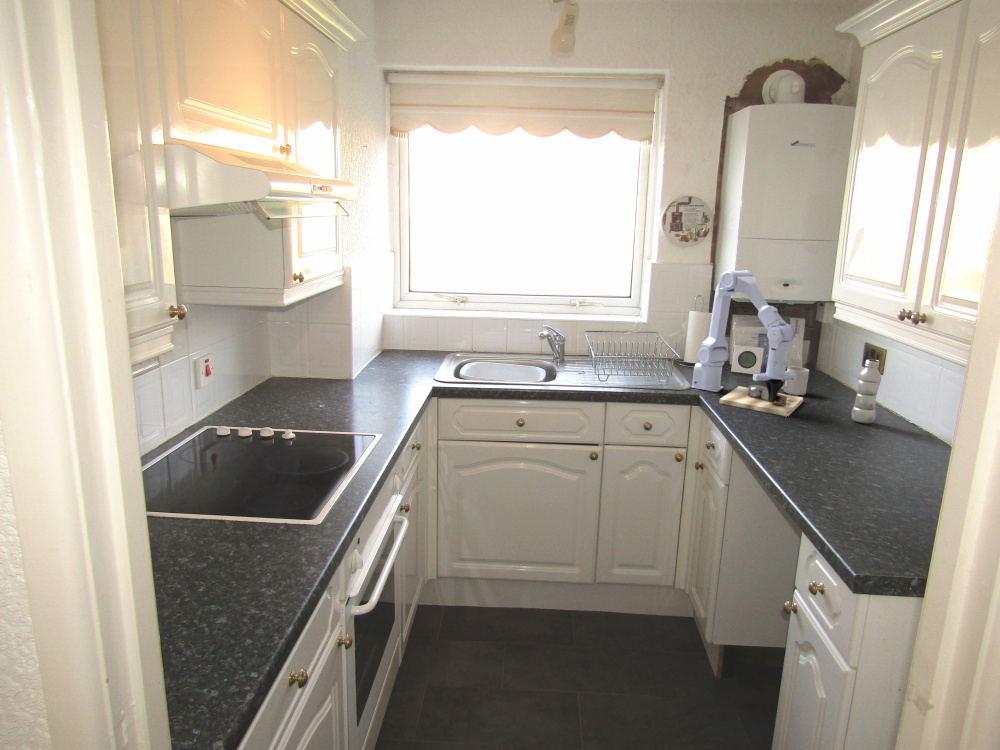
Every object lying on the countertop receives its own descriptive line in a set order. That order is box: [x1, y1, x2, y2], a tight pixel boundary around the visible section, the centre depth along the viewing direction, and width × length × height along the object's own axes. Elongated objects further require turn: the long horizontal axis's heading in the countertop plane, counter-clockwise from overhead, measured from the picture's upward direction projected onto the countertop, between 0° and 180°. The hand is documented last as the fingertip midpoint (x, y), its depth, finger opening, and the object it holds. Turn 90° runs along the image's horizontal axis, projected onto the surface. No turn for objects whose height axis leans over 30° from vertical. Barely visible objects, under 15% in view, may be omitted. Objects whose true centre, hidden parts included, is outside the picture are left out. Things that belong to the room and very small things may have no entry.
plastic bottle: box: [851, 358, 882, 424], centre depth 213 cm, size 6×7×20 cm
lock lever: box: [748, 384, 787, 406], centre depth 230 cm, size 15×6×3 cm, turn 23°
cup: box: [780, 366, 810, 396], centre depth 246 cm, size 7×10×9 cm
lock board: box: [718, 385, 804, 417], centre depth 233 cm, size 22×22×2 cm
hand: (771, 401), depth 226 cm, fingers closed
